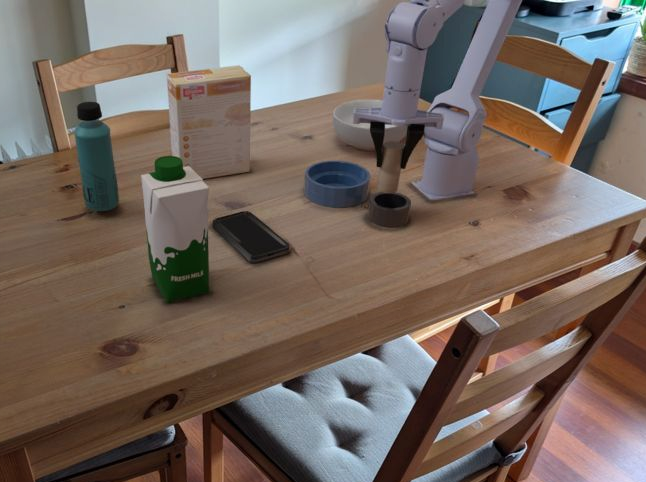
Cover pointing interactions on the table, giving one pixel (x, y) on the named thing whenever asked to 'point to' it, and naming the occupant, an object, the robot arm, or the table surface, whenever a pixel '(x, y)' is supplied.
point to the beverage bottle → (96, 159)
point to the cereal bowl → (362, 126)
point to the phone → (250, 236)
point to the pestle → (390, 167)
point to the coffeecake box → (211, 119)
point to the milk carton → (177, 229)
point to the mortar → (389, 209)
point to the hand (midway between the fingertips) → (390, 165)
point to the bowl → (336, 183)
